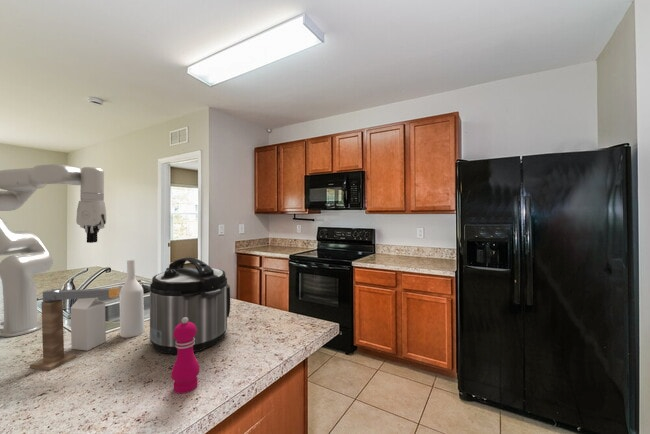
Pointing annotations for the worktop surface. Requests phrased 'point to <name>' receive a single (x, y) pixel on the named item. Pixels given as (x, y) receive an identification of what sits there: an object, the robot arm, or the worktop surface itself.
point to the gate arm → (79, 294)
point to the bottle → (131, 304)
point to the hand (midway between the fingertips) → (92, 242)
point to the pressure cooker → (188, 304)
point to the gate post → (52, 337)
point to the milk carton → (87, 323)
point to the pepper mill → (185, 358)
